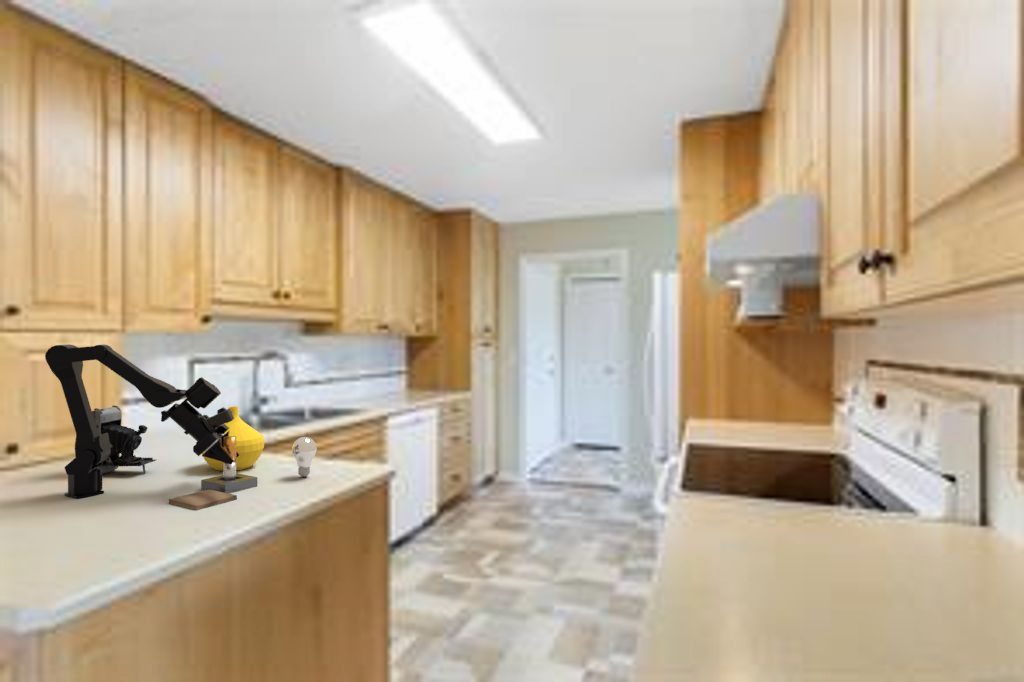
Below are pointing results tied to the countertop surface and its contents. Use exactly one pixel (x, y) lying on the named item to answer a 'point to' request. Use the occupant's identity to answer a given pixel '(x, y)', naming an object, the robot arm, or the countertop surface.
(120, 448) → the vintage camera
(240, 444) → the vase
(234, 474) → the orange and silver cylinder
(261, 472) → the countertop surface
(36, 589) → the countertop surface
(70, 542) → the countertop surface
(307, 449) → the light bulb
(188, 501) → the walnut pad
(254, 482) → the chuck block
